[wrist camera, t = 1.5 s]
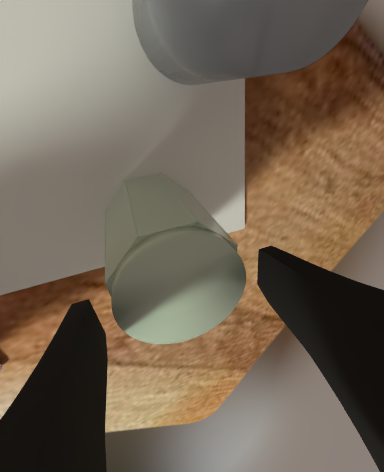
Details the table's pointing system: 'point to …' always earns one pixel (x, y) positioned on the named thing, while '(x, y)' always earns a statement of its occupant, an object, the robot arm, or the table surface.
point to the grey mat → (98, 134)
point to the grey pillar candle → (239, 35)
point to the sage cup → (168, 262)
